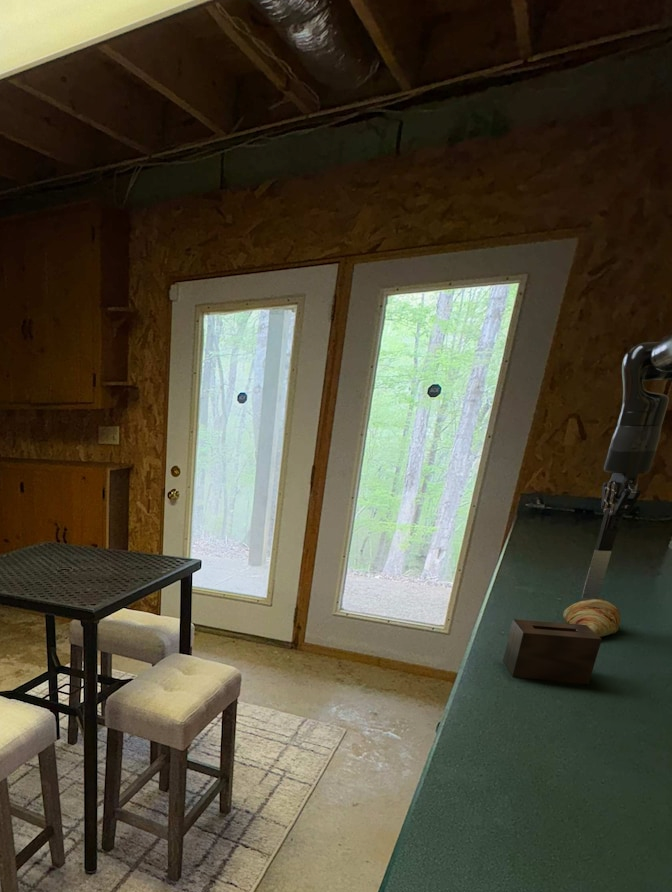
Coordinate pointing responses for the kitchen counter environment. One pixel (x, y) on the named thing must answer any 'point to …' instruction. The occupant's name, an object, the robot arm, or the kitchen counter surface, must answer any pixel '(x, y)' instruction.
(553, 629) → the knife block
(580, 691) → the kitchen counter surface
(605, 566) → the knife
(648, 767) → the kitchen counter surface
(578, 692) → the kitchen counter surface
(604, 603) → the croissant
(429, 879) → the kitchen counter surface
